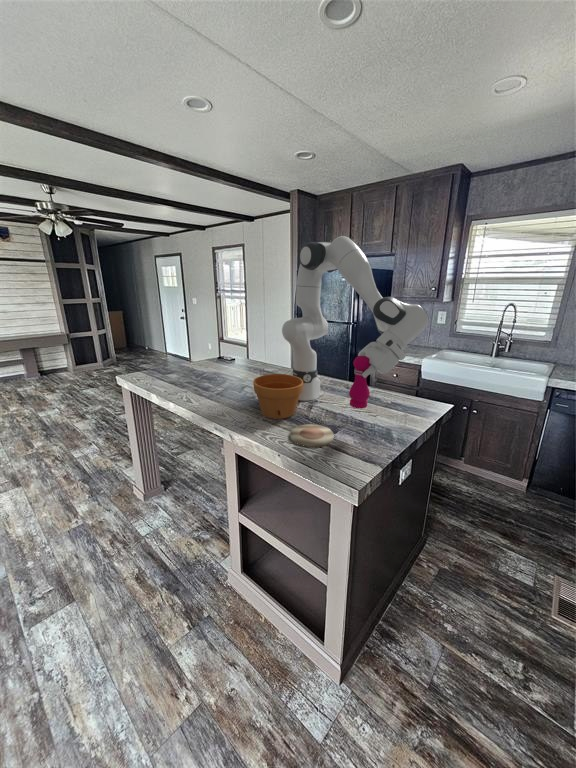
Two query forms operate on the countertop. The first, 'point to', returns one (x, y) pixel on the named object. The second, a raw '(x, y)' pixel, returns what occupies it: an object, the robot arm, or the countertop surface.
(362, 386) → the pepper mill
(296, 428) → the disc
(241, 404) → the countertop surface
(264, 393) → the flower pot
